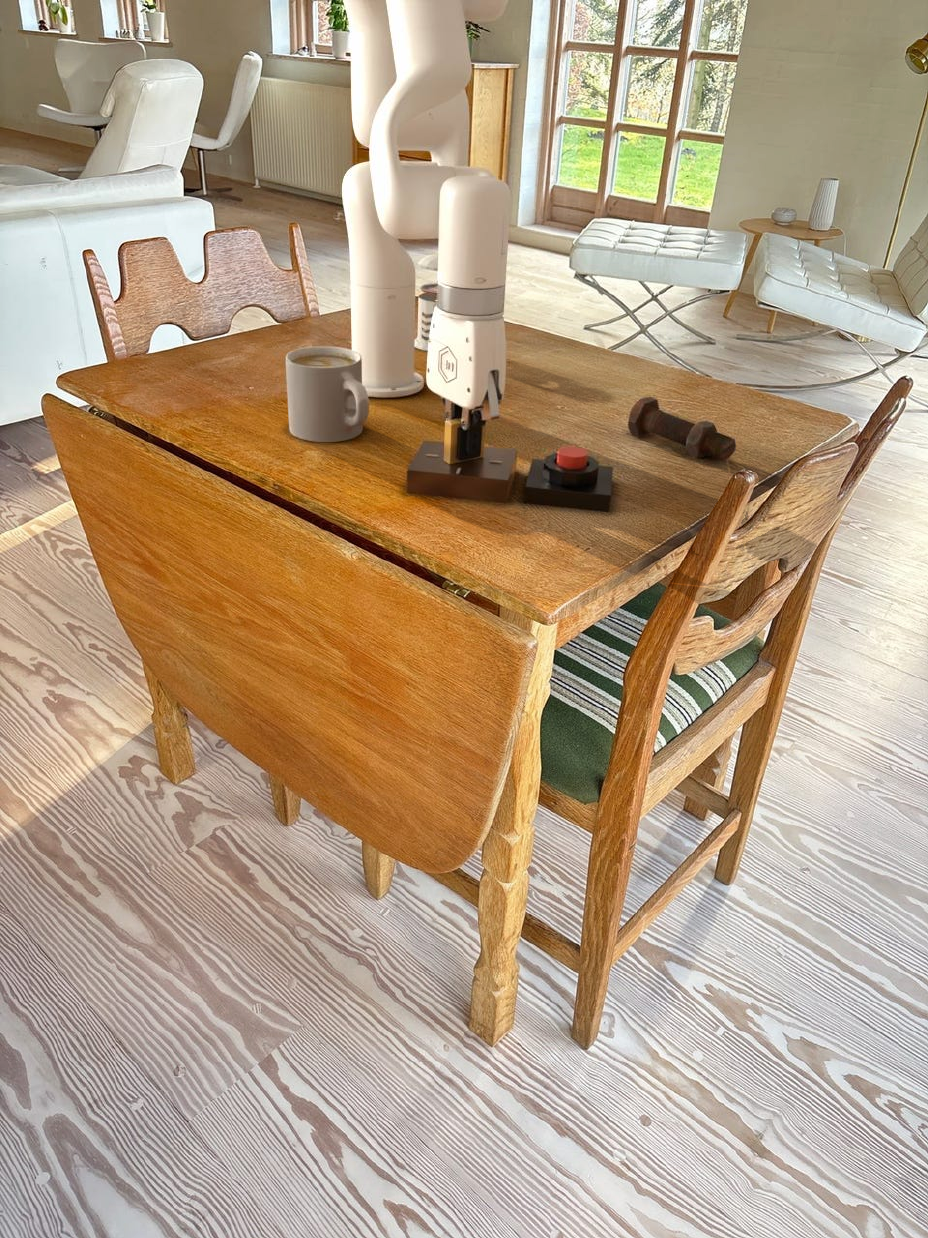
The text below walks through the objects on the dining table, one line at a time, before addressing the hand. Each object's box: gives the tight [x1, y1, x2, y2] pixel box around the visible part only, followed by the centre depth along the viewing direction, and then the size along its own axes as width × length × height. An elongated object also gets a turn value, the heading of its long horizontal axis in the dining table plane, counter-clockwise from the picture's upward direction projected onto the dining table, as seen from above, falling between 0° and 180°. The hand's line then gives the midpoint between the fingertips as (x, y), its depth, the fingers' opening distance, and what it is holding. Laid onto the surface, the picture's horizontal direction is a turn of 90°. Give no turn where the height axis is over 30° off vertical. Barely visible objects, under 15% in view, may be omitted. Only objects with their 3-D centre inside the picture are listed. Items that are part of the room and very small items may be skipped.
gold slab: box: [443, 418, 487, 464], centre depth 114 cm, size 5×1×5 cm, turn 124°
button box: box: [523, 452, 614, 513], centre depth 115 cm, size 10×9×4 cm
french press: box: [415, 253, 438, 352], centre depth 163 cm, size 10×12×25 cm
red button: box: [556, 445, 589, 469], centre depth 114 cm, size 4×4×2 cm
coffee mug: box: [285, 345, 370, 443], centre depth 127 cm, size 13×10×10 cm
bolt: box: [627, 396, 737, 462], centre depth 129 cm, size 6×5×15 cm
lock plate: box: [406, 440, 518, 504], centre depth 117 cm, size 12×10×3 cm
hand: (463, 454), depth 116 cm, fingers closed
